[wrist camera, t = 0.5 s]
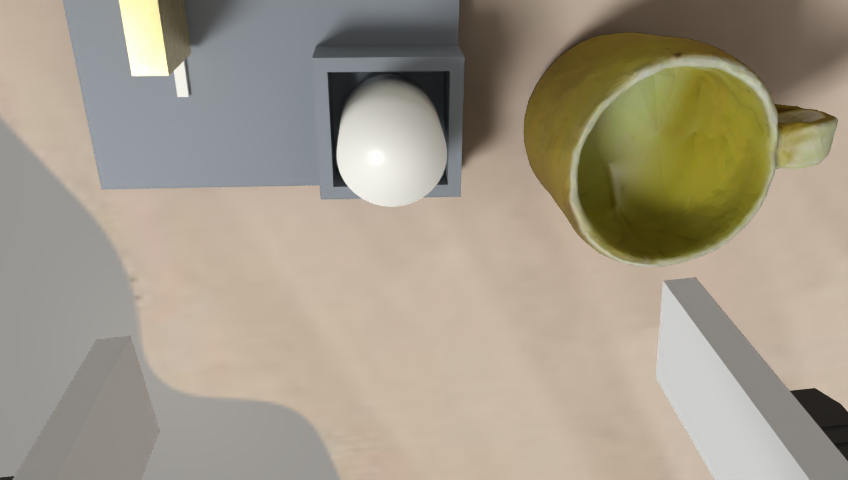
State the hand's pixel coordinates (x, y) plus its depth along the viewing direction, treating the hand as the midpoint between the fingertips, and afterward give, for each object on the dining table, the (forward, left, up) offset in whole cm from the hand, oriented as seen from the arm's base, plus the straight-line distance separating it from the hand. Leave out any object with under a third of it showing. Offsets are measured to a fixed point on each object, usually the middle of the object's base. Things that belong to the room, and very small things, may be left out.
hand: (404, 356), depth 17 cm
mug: (0, +13, -21) cm, 24 cm away
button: (0, 0, -18) cm, 18 cm away
